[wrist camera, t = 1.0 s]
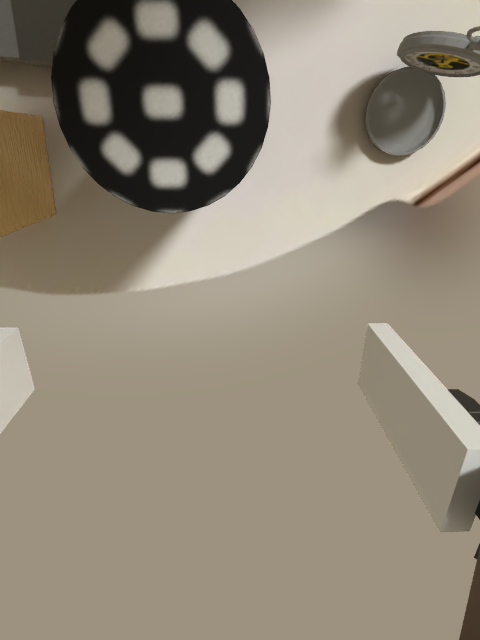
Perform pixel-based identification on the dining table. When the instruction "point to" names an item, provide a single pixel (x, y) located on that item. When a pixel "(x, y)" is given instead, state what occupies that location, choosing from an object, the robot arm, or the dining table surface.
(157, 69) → the white-spotted black cylinder
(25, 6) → the grey handled disc
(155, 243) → the dining table surface
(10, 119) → the golden tan block
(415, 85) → the pocket watch
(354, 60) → the dining table surface
